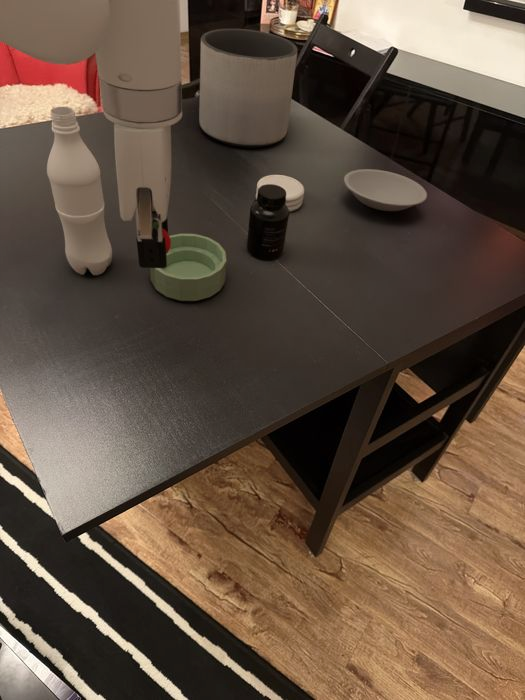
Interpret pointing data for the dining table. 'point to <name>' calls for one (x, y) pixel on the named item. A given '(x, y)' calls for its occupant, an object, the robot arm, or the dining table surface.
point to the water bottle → (78, 195)
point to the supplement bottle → (268, 223)
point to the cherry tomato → (165, 235)
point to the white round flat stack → (291, 187)
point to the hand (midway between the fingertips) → (154, 253)
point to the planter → (246, 86)
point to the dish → (384, 189)
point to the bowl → (191, 268)
